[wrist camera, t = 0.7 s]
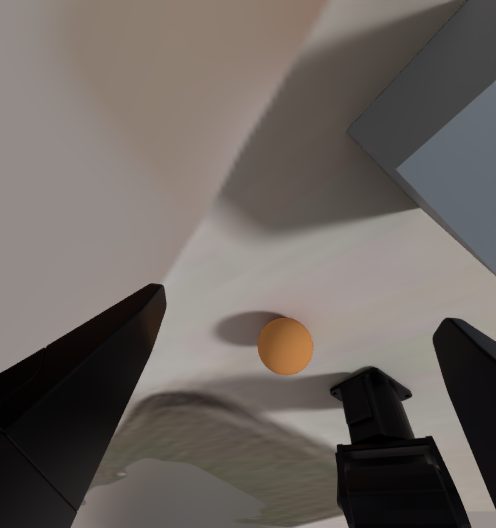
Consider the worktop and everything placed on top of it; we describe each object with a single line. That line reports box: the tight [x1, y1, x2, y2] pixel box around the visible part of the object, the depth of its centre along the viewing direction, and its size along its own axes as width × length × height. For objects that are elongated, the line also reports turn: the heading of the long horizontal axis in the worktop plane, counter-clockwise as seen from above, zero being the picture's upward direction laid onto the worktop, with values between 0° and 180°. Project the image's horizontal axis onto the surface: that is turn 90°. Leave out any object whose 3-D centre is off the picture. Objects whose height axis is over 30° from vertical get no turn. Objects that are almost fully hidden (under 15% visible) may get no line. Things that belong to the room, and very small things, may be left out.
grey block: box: [346, 0, 496, 276], centre depth 12 cm, size 8×8×9 cm
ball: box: [258, 318, 313, 375], centre depth 25 cm, size 5×5×5 cm
